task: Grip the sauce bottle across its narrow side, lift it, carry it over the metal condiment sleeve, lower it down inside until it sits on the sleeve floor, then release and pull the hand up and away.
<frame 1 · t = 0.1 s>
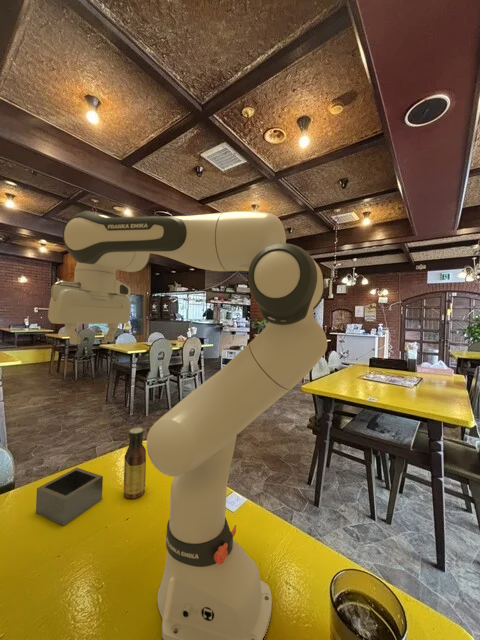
hand: (92, 342, 68), 48 cm above the table, tool pointing down, fingers open, 8 cm apart
condiment sleeve: (70, 505, 80), on the table
sauce bottle: (134, 494, 86), on the table
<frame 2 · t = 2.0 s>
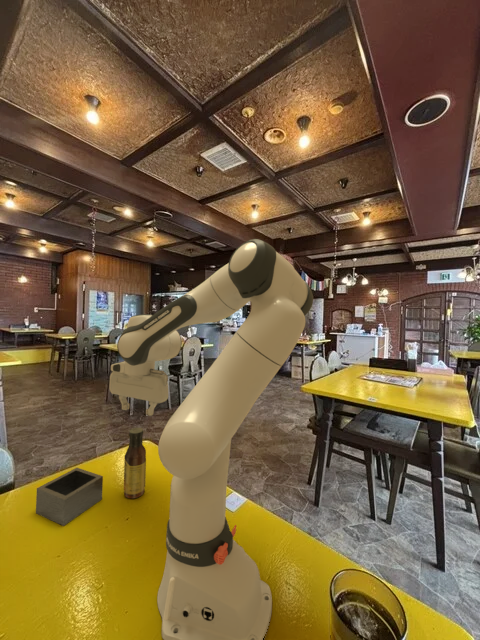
hand: (137, 412, 86), 25 cm above the table, tool pointing down, fingers open, 8 cm apart
nothing on the table moved.
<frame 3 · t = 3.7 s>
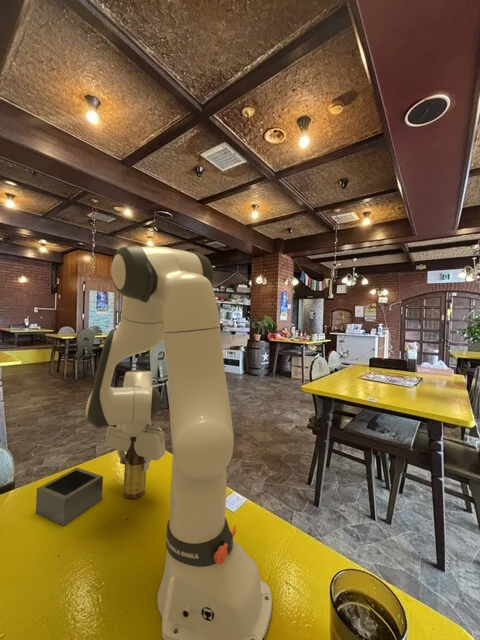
hand: (134, 466, 86), 8 cm above the table, tool pointing down, fingers open, 7 cm apart
sauce bottle: (134, 494, 86), on the table, touching arm, gripper
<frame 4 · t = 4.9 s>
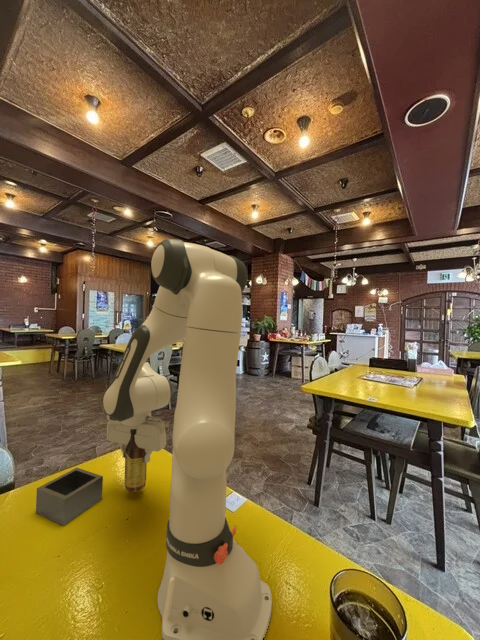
hand: (136, 459, 86), 11 cm above the table, tool pointing down, fingers closed on sauce bottle, 6 cm apart
sauce bottle: (135, 488, 86), point 2 cm above the table, touching gripper
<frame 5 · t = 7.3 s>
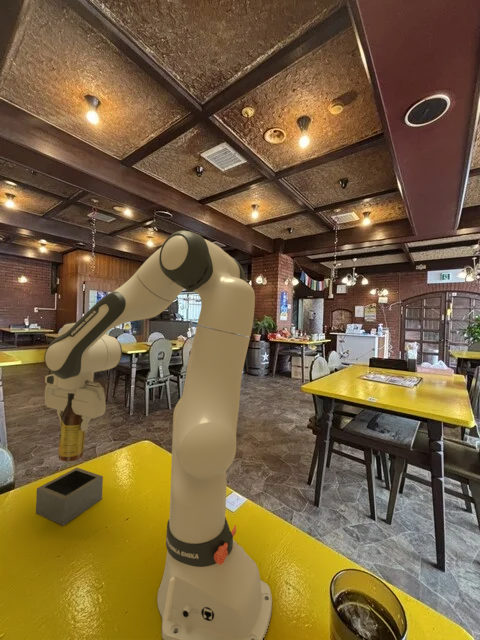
hand: (73, 427, 80), 22 cm above the table, tool pointing down, fingers closed on sauce bottle, 6 cm apart
sauce bottle: (70, 458, 79), point 14 cm above the table, touching gripper
when the fingers open (10 cm above the table, at t = 9.9 s): sauce bottle stays where it is, resting on condiment sleeve.
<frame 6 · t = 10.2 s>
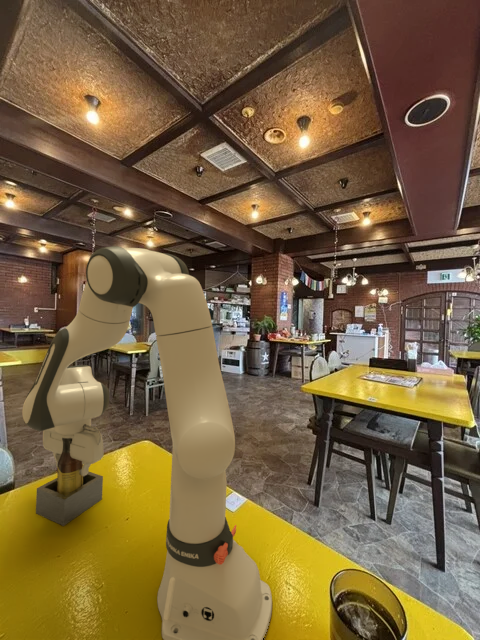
hand: (71, 470, 80), 10 cm above the table, tool pointing down, fingers open, 8 cm apart
sauce bottle: (69, 504, 79), point 1 cm above the table, touching condiment sleeve
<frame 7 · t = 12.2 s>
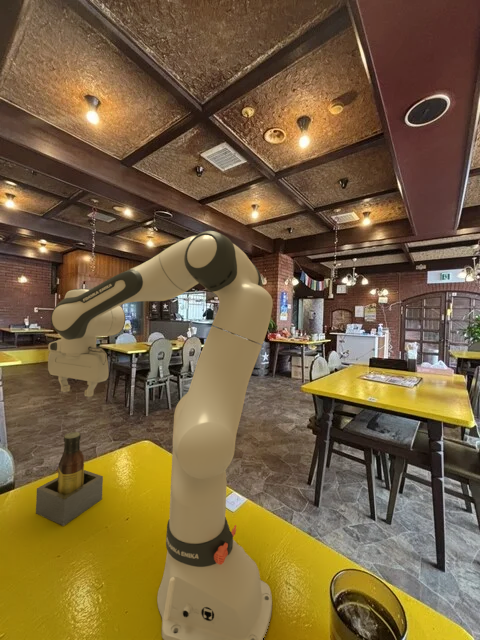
hand: (76, 393, 81), 32 cm above the table, tool pointing down, fingers open, 8 cm apart
nothing on the table moved.
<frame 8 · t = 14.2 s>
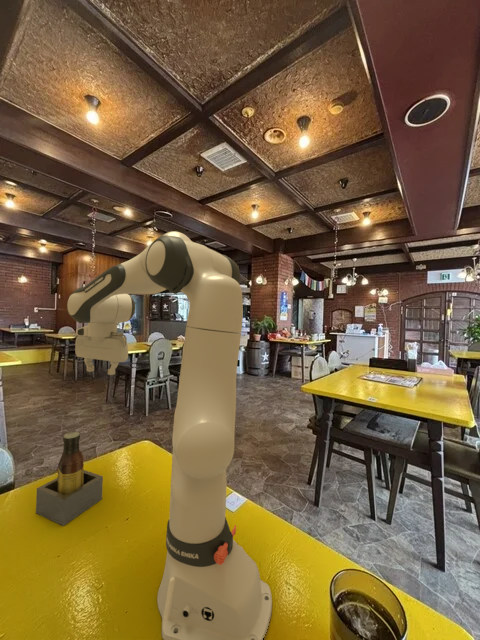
hand: (100, 372, 93), 35 cm above the table, tool pointing down, fingers open, 8 cm apart
nothing on the table moved.
at the end: sauce bottle 0.5 cm off-centre on the condiment sleeve, point 0.6 cm above the condiment sleeve's base; sauce bottle tilted 0°; the gripper is holding nothing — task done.
